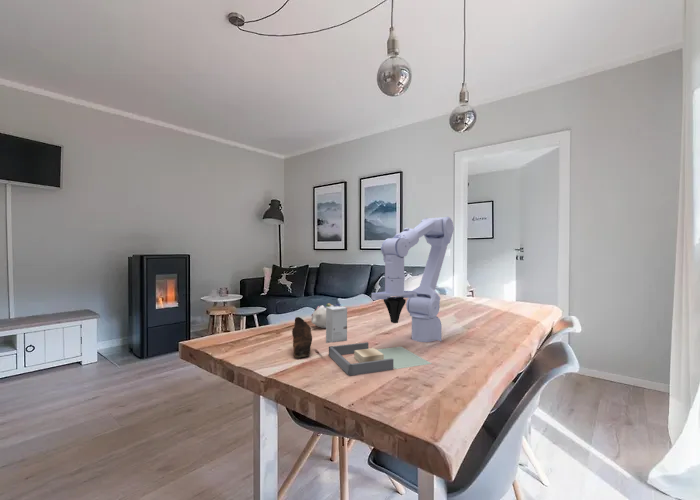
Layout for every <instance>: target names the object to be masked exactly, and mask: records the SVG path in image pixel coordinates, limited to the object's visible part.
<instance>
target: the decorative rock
mask: <svg viewBox="0 0 700 500" xmlns="http://www.w3.org/2000/svg"><path fill="white" fill-rule="evenodd" d="M291 334H292V335H291V336H292V347H293V350H292V351H293V356H294V357H295V359H298V358H300V359H301V358H305V357H308V356H309V354H310V352H311V346H312V342H313V335H312V329H311V326H310V325H309V324H308V323H307V321H305V320H304V319H303V318H302V317H299V316H296V317H295V318H294V324H293V328H292V331H291Z"/></svg>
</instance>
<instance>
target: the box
mask: <svg viewBox="0 0 700 500" xmlns="http://www.w3.org/2000/svg"><path fill="white" fill-rule="evenodd" d="M362 349H369V342H367V341H366V342H359V343H350V344H349V343H348V344H340V345H339V344H338V345H331V346H328V357H330V358H331V360H332V361H333V362H334V363H335V364H337V366H338V367H339V368H340V369H342V371H343V372H344V373H345V374H346V375H347V376H348V377H352V376H358V375H365V374H372V373H378V372H386V371H387V372H388V371H392V370H394V368H393V359H392V358H391V359H384V360H377V361H369V362H362V363H360V362H355V363H354V362H353V363H350V362H349V361H348V360H347V359H346V358H345V357H344V356H343V355H353V354H354V350H362Z"/></svg>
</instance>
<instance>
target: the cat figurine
mask: <svg viewBox="0 0 700 500" xmlns="http://www.w3.org/2000/svg"><path fill="white" fill-rule="evenodd" d="M327 307H335V306H334V304H331V303H330V302H329V303H326V304H325V306H324V305H318V306H317V307H316V308H315V309H314V311H313V313H312V314H311V323H312V325H315V326H316V327H318V328H322V329H326V308H327Z"/></svg>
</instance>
